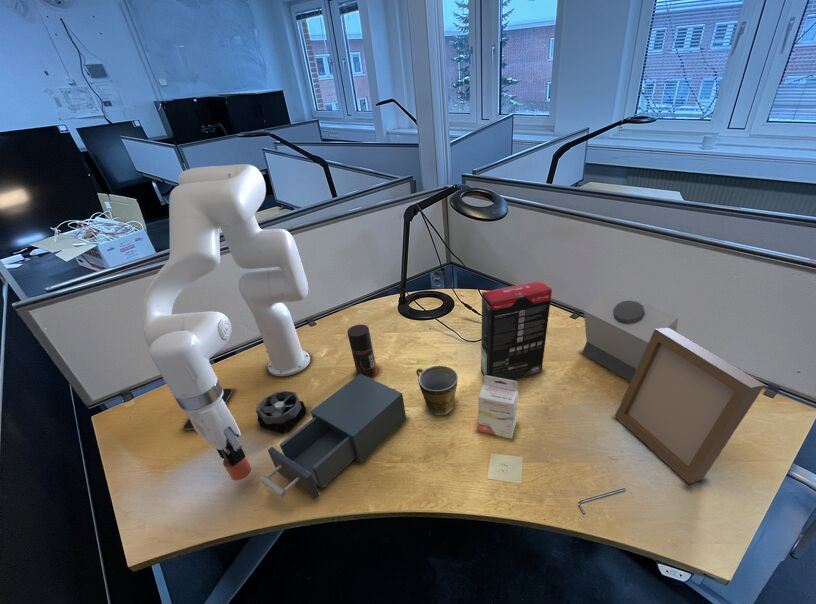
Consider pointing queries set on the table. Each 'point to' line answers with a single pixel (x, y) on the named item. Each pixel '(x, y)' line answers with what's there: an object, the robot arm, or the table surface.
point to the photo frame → (685, 402)
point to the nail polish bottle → (237, 467)
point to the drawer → (311, 457)
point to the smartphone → (225, 397)
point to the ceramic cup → (438, 388)
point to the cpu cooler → (280, 411)
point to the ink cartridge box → (497, 406)
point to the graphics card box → (514, 330)
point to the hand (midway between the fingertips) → (233, 456)
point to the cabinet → (363, 413)
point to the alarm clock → (621, 331)
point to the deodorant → (362, 350)
